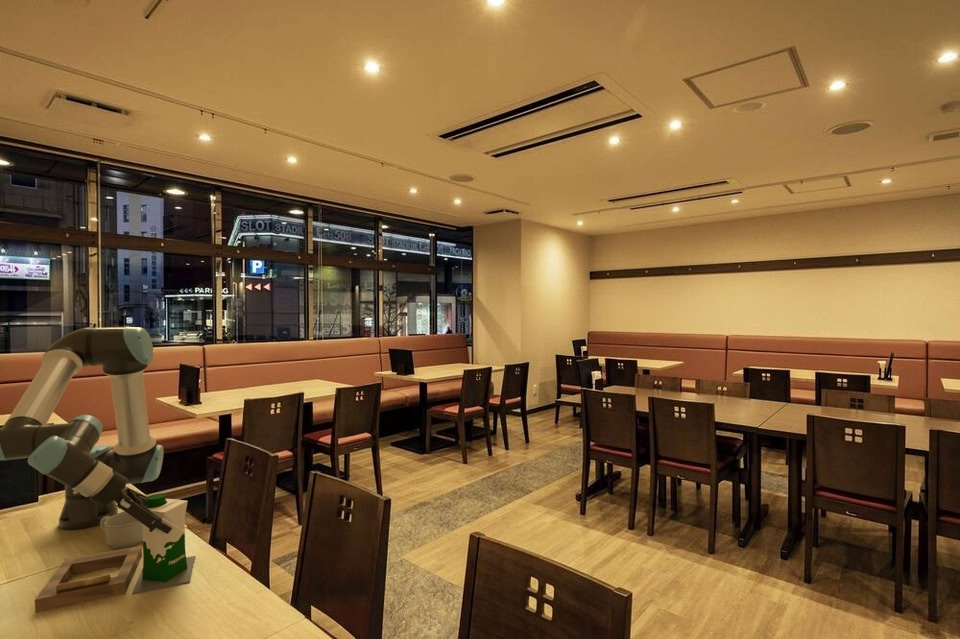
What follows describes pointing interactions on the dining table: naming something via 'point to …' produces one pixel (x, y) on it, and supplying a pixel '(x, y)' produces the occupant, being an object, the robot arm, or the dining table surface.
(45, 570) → the dining table surface
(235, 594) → the dining table surface
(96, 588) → the frame
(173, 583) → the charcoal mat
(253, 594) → the dining table surface
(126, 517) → the teacup
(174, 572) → the soya milk
